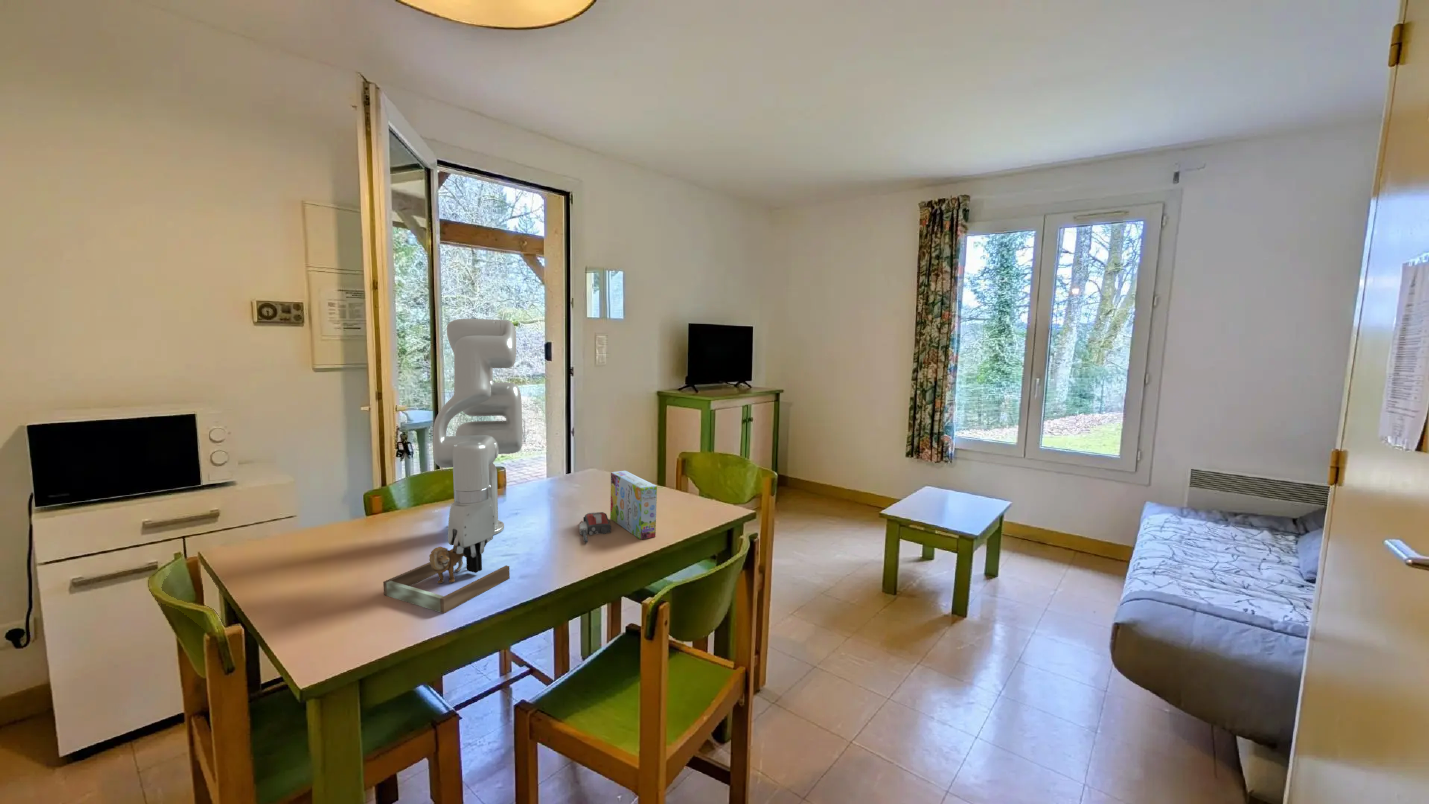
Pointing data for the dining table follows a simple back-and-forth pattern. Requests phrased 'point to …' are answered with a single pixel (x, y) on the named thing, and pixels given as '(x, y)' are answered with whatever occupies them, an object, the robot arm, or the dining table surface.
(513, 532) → the dining table surface
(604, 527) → the walkie-talkie
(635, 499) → the snack box
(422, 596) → the u-shaped wooden rail
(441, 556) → the lion figurine
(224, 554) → the dining table surface
